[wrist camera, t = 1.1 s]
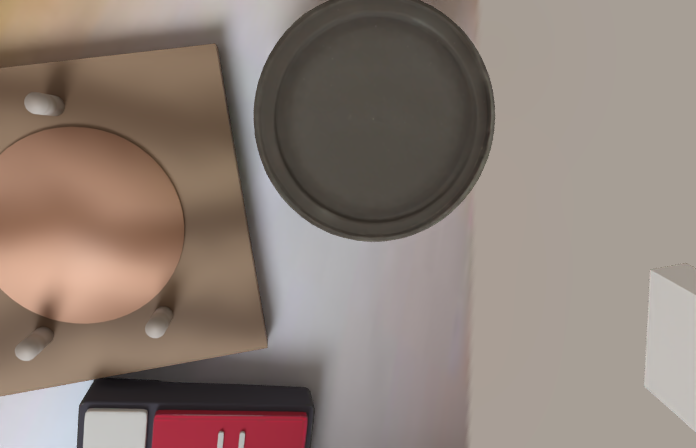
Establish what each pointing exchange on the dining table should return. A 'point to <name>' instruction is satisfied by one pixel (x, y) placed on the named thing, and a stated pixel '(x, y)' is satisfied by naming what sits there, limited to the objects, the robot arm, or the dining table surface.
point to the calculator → (193, 415)
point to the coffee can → (374, 117)
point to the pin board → (120, 219)
